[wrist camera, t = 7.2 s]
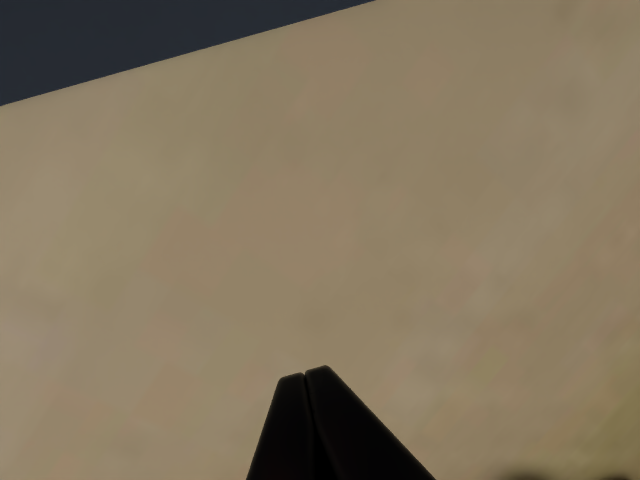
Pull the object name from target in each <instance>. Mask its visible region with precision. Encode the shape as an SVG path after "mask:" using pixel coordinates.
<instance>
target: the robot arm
mask: <svg viewBox="0 0 640 480" xmlns="http://www.w3.org/2000/svg"><path fill="white" fill-rule="evenodd" d="M246 480H436V479H435V478H434V477H433V476H432V475H431V474H430V473H429V472H428V471H427V470H426V468H425V467H424V466H423V465H422V464H421V463H420V462H419V461H418V460H417V459H416V458H415V457H414V456H413V455H412V454H411V453H410V451H409V450H408V449H407V448H406V447H405V446H404V445H403V444H402V443H401V442H400V441H399V440H398V439H397V438H396V437H395V436H394V435H393V433H392V432H391V431H390V430H389V429H388V428H387V427H386V426H385V425H384V424H383V423H382V422H381V421H380V420H379V419H378V418H377V417H376V415H375V414H374V413H373V412H372V411H371V410H370V409H369V408H368V407H367V406H366V405H365V404H364V403H363V402H362V401H361V400H360V398H359V397H358V396H357V395H356V394H355V393H354V392H353V391H352V390H351V389H350V388H349V387H348V386H347V385H346V384H345V383H344V382H343V380H342V379H341V378H340V377H339V376H338V375H337V374H336V373H335V372H334V371H333V370H332V369H331V368H330V367H329V366H326V365H324V366H320V367H317V368H313V369H310V370H307V371H306V372H305V376H304V374H303V373H301V372H300V373H296V374H292V375H289V376H285V377H282V378H281V379H280V380H279V381H278V384H277V387H276V390H275V393H274V396H273V399H272V402H271V405H270V408H269V411H268V414H267V417H266V420H265V423H264V427H263V430H262V433H261V436H260V439H259V442H258V445H257V448H256V451H255V454H254V457H253V460H252V463H251V466H250V469H249V472H248V475H247V478H246Z"/></svg>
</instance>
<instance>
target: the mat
mask: <svg viewBox="0 0 640 480" xmlns="http://www.w3.org/2000/svg"><path fill="white" fill-rule="evenodd" d="M371 1H374V0H0V106H2V105H5V104H9V103H12V102H16V101H19V100H23V99H27V98H30V97H34V96H37V95H41V94H44V93H48V92H51V91H55V90H59V89H62V88H66V87H69V86H73V85H76V84H80V83H83V82H87V81H90V80H94V79H98V78H101V77H105V76H108V75H112V74H115V73H119V72H122V71H126V70H130V69H133V68H137V67H140V66H144V65H147V64H151V63H154V62H158V61H161V60H165V59H169V58H172V57H176V56H179V55H183V54H186V53H190V52H193V51H197V50H201V49H204V48H208V47H211V46H215V45H218V44H222V43H225V42H229V41H232V40H236V39H240V38H243V37H247V36H250V35H254V34H257V33H261V32H264V31H268V30H271V29H275V28H279V27H282V26H286V25H289V24H293V23H296V22H300V21H303V20H307V19H311V18H314V17H318V16H321V15H325V14H328V13H332V12H335V11H339V10H342V9H346V8H350V7H353V6H357V5H360V4H364V3H367V2H371Z"/></svg>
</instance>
